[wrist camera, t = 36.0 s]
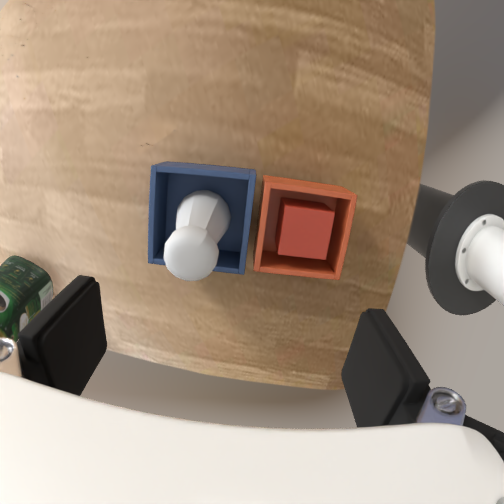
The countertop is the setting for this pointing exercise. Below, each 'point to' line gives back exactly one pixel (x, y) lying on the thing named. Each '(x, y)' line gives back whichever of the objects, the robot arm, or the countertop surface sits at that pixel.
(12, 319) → the coffee jar
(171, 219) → the blue bin
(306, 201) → the red block
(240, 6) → the countertop surface
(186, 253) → the salt shaker
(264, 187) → the orange bin
